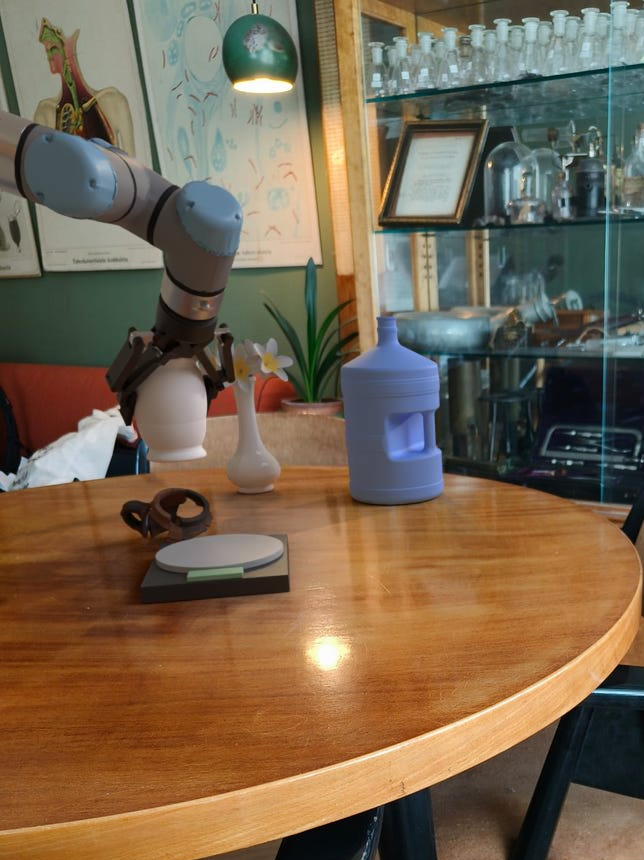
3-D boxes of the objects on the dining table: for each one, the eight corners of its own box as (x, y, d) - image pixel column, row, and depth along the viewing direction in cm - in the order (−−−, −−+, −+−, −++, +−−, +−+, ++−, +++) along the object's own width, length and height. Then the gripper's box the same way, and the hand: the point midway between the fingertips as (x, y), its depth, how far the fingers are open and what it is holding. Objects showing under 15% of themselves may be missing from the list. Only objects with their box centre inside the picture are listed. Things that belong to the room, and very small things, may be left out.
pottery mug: (209, 531, 129) (216, 487, 124) (206, 575, 123) (214, 530, 117) (121, 518, 125) (125, 471, 119) (113, 563, 119) (117, 516, 113)
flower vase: (200, 487, 158) (179, 339, 149) (305, 480, 161) (290, 335, 152) (192, 502, 146) (169, 343, 137) (305, 495, 149) (290, 339, 140)
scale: (142, 604, 97) (138, 580, 96) (163, 558, 115) (160, 537, 114) (290, 591, 100) (287, 567, 99) (288, 548, 118) (286, 527, 117)
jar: (142, 467, 124) (124, 356, 119) (136, 456, 133) (119, 352, 128) (219, 460, 128) (205, 352, 123) (208, 450, 137) (195, 349, 132)
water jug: (332, 503, 143) (316, 319, 133) (377, 484, 156) (365, 316, 146) (420, 508, 137) (410, 317, 127) (458, 488, 151) (452, 314, 141)
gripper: (109, 327, 106) (92, 443, 123) (283, 320, 119) (246, 426, 136) (87, 280, 108) (73, 401, 125) (261, 279, 121) (227, 389, 138)
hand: (163, 415), depth 131 cm, fingers closed on jar, 11 cm apart
